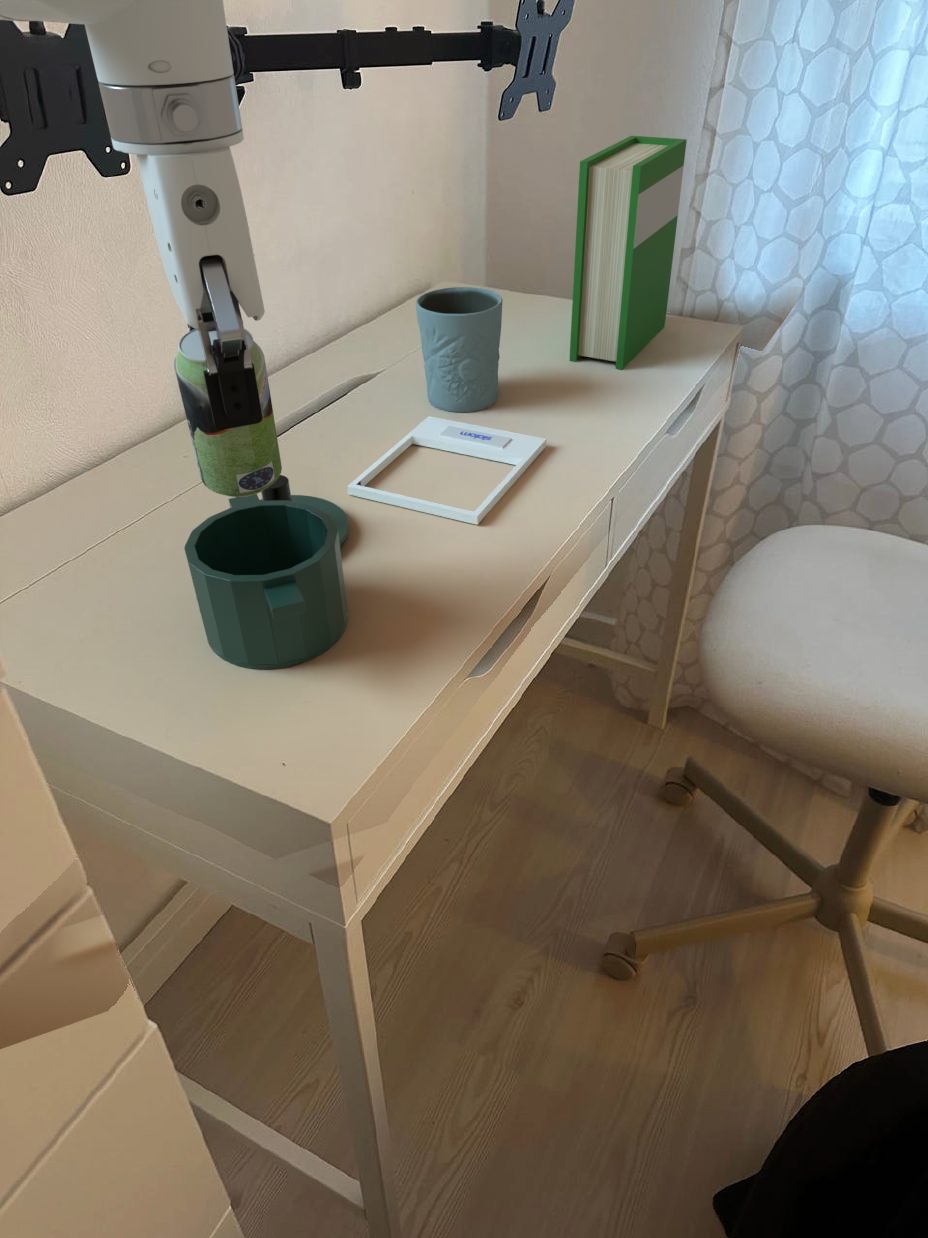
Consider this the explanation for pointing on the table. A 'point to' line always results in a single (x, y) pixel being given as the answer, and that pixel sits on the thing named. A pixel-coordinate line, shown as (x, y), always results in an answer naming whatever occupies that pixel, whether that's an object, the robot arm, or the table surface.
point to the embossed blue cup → (460, 346)
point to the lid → (282, 492)
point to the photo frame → (456, 440)
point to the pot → (268, 582)
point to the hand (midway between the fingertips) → (229, 403)
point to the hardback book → (625, 246)
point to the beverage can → (233, 454)
